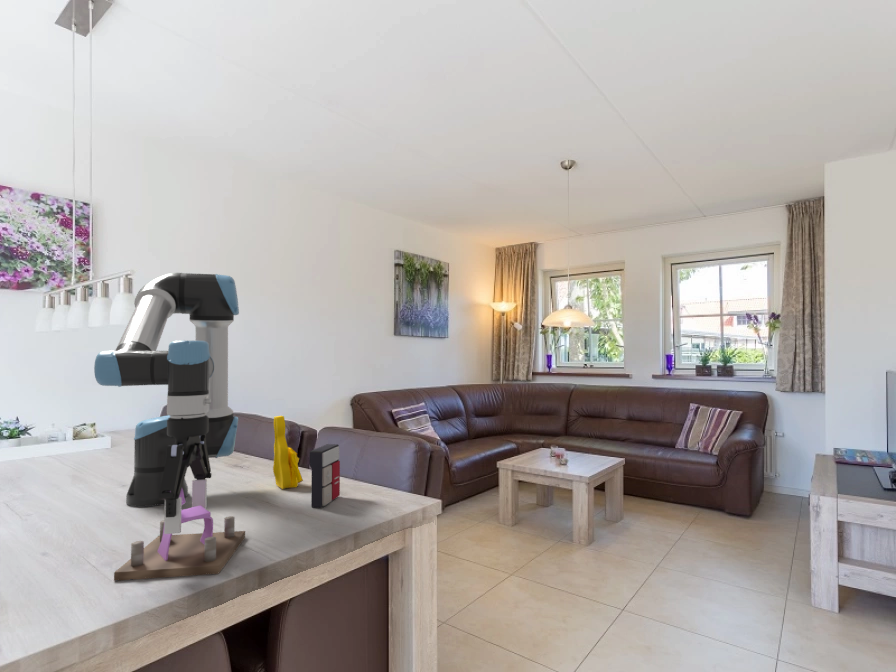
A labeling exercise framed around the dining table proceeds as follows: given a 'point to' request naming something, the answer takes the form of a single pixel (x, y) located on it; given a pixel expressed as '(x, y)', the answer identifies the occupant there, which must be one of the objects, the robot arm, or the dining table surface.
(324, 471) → the grey and red block
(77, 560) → the dining table surface
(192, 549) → the peg stand
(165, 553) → the toy chair
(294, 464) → the figure statuette
